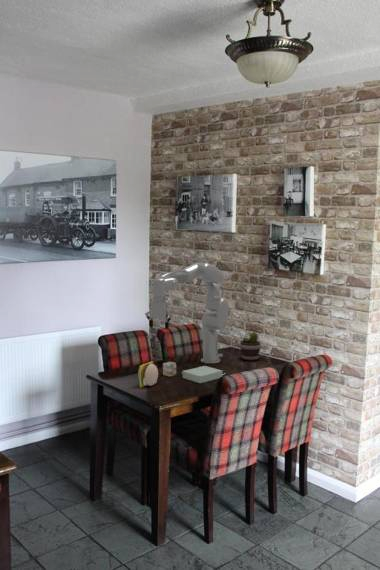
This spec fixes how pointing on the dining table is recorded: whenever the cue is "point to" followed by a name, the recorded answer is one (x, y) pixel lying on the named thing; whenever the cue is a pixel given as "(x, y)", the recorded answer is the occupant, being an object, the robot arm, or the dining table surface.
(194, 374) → the dock
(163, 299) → the robot arm
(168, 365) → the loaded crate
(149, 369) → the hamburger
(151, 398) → the dining table surface
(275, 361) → the dining table surface
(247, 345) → the flowerpot
